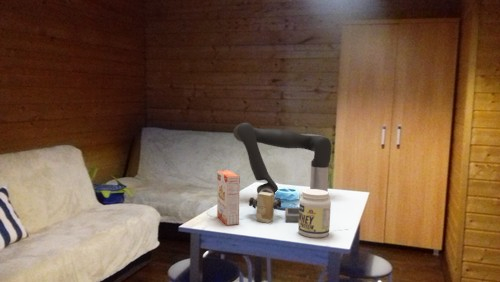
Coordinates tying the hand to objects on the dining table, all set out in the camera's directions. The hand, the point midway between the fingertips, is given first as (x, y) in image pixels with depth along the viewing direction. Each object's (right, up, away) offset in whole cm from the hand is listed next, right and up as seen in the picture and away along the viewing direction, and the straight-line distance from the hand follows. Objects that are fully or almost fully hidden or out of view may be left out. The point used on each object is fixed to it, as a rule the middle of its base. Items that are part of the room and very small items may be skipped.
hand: (264, 206), depth 185 cm
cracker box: (-16, -6, 0) cm, 17 cm away
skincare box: (0, -7, +1) cm, 7 cm away
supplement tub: (+19, -9, -14) cm, 25 cm away
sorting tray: (+16, -6, +6) cm, 18 cm away
